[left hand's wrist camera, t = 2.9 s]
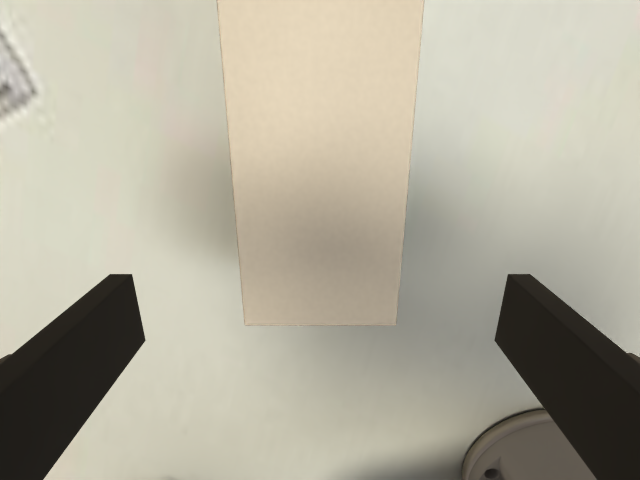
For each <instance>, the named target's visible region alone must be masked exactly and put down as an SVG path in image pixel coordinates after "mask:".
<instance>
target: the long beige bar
mask: <svg viewBox="0 0 640 480" xmlns="http://www.w3.org/2000/svg"><path fill="white" fill-rule="evenodd" d="M217 9H218V21H219V32H220V44H221V56H222V67H223V79H224V90H225V102H226V114H227V125H228V137H229V149H230V160H231V172H232V183H233V195H234V207H235V218H236V230H237V242H238V253H239V265H240V276H241V288H242V300H243V311H244V323H245V325H396V320H397V309H398V298H399V286H400V275H401V263H402V252H403V240H404V229H405V217H406V206H407V194H408V183H409V171H410V160H411V148H412V137H413V125H414V114H415V102H416V91H417V79H418V68H419V56H420V45H421V33H422V22H423V10H424V0H217Z"/></svg>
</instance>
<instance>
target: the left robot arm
mask: <svg viewBox="0 0 640 480" xmlns="http://www.w3.org/2000/svg"><path fill="white" fill-rule="evenodd" d="M144 342H145V336H144V331H143V326H142V321H141V316H140V311H139V306H138V302H137V297H136V292H135V287H134V282H133V277H132V274H110V275H109V276H107V277H106V278H105V279H104V280H102V281H101V282H100V283H99V284H97V285H96V286H95V287H94V288H93V289H91V290H90V291H89V292H88V293H86V294H85V295H84V296H83V297H82V298H80V299H79V300H78V301H77V302H75V303H74V304H73V305H72V306H71V307H69V308H68V309H67V310H66V311H64V312H63V313H62V314H61V315H60V316H58V317H57V318H56V319H55V320H53V321H52V322H51V323H50V324H48V325H47V326H46V327H45V328H44V329H42V330H41V331H40V332H39V333H37V334H36V335H35V336H34V337H33V338H31V339H30V340H29V341H28V342H26V343H25V344H24V345H23V346H22V347H20V348H19V349H18V350H17V351H15V352H14V353H13V354H9V355H7V356H5V357H3V358H1V359H0V480H43V479H44V478H45V476H46V475H47V474H48V472H49V471H50V470H51V468H52V467H53V465H54V464H55V463H56V461H57V460H58V459H59V457H60V456H61V455H62V453H63V452H64V451H65V449H66V448H67V446H68V445H69V444H70V442H71V441H72V440H73V438H74V437H75V436H76V434H77V433H78V431H79V430H80V429H81V427H82V426H83V425H84V423H85V422H86V421H87V419H88V418H89V416H90V415H91V414H92V412H93V411H94V410H95V408H96V407H97V406H98V404H99V403H100V402H101V400H102V399H103V397H104V396H105V395H106V393H107V392H108V391H109V389H110V388H111V387H112V385H113V384H114V382H115V381H116V380H117V378H118V377H119V376H120V374H121V373H122V372H123V370H124V369H125V368H126V366H127V365H128V363H129V362H130V361H131V359H132V358H133V357H134V355H135V354H136V353H137V351H138V350H139V348H140V347H141V346H142V344H143V343H144ZM495 342H496V343H497V344H498V346H499V347H500V348H501V350H502V351H503V353H504V354H505V355H506V357H507V358H508V359H509V361H510V362H511V363H512V365H513V366H514V368H515V369H516V370H517V372H518V373H519V374H520V376H521V377H522V378H523V380H524V381H525V382H526V384H527V385H528V387H529V388H530V389H531V391H532V392H533V393H534V395H535V396H536V397H537V399H538V400H539V402H540V403H541V404H542V406H543V407H544V408H545V410H537V411H532V412H527V413H524V414H520V415H517V416H515V417H512V418H510V419H507V420H505V421H503V422H501V423H499V424H498V425H496V426H494V427H493V428H491V429H490V430H488V431H487V432H486V433H485V434H483V435H482V436H481V437H480V438H479V439H478V440H477V441H476V442H475V443H474V445H473V446H472V447H471V449H470V450H469V452H468V454H467V456H466V458H465V460H464V463H463V467H462V480H640V357H638V356H636V355H634V354H632V353H626V352H625V351H623V350H622V349H621V348H620V347H618V346H617V345H616V344H615V343H614V342H612V341H611V340H610V339H609V338H607V337H606V336H605V335H604V334H603V333H601V332H600V331H599V330H598V329H596V328H595V327H594V326H593V325H592V324H590V323H589V322H588V321H587V320H585V319H584V318H583V317H582V316H580V315H579V314H578V313H577V312H576V311H574V310H573V309H572V308H571V307H569V306H568V305H567V304H566V303H565V302H563V301H562V300H561V299H560V298H558V297H557V296H556V295H555V294H554V293H552V292H551V291H550V290H549V289H547V288H546V287H545V286H544V285H543V284H541V283H540V282H539V281H538V280H536V279H535V278H534V277H533V276H531V275H530V274H508V277H507V282H506V287H505V292H504V297H503V302H502V306H501V311H500V316H499V321H498V326H497V331H496V336H495Z"/></svg>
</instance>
